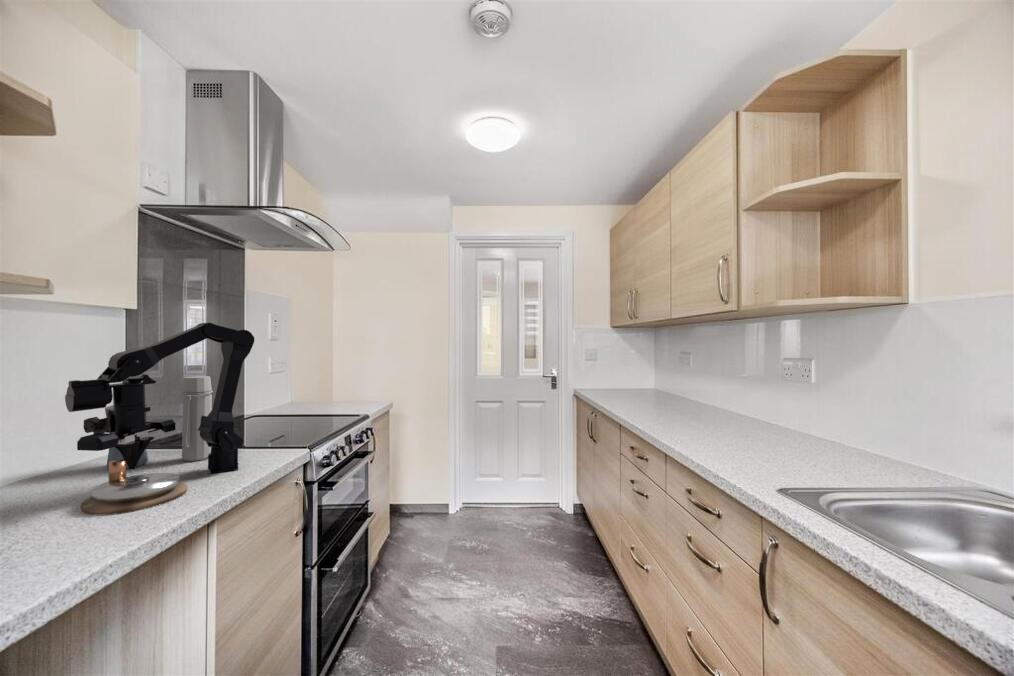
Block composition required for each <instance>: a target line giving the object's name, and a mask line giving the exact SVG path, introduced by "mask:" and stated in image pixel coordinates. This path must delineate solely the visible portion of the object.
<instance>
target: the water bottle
mask: <svg viewBox="0 0 1014 676" xmlns="http://www.w3.org/2000/svg"><path fill="white" fill-rule="evenodd" d="M211 381H212V380H211V376H208V375H207V376H206V375H205V376H204V375H201V376H200V375H199V376H198V375H197V376H183V381H182V388H181V393H180V396H181V397H182V417H181V418H182V419H181V420H182V424H181V425H182V427H181V429H182V430H181V431H182V432H181V433H182V434H181V436H182V437H181V439H182V442H181V448H182V449H181V460H183V461H185V462H190V461H192V462H200V461H204V460H206V459H207V460H208V455H209V453H211V448H212V447H208V445H207V442H206V441H204V440H203V439H202V438H201V437H200V431H198V428H199V427H200V424H201V417H202V416H208V415H209V413H210V412H211V411H212V408H213V403H212V401H213V396H212V393H213V392H214V391H213V389H212V382H211ZM199 460H200V461H199Z"/></svg>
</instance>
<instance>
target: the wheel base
mask: <svg viewBox="0 0 1014 676" xmlns="http://www.w3.org/2000/svg"><path fill="white" fill-rule="evenodd" d="M187 490H188V484H187V483H185V482H183V481H182V482H181V481H179V484H178V486H176V487H175V488H173V489H171V490H168V491H166V492H163V493H160V494H157V495H153V496H149V497H144V498H140V499H134V500H128V501H119V502H97V501H93V500H92V499H91V496H89V497H87V498H86V499H84V500H83V501H82V502H80V511H81V513H83V514H86V515H87V514H88V515H94V514H106V515H115V514H114V513H117V514H123V513H122V512H125V513H130V512H129V511H131V512H135V510H137V511H139V510H140V509H142V510H145V509H144V508H146V509H149V508H148V507H150V508H154V507H157V506H156V505H158V506H160V505H159V504H161V505H164V504H167V503H169V501H170V502H172V501H174V499H175V500H176V498H177V499H178V497H179V498H181V497H183V496H184V495H185V494H186V493H187ZM183 494H184V495H183ZM180 496H181V497H180ZM171 500H172V501H171ZM166 502H167V503H166ZM163 503H164V504H163ZM153 506H154V507H153Z"/></svg>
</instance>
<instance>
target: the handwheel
mask: <svg viewBox="0 0 1014 676" xmlns="http://www.w3.org/2000/svg"><path fill="white" fill-rule="evenodd" d="M126 464H127V460H126V459H119V460H113V461H110V462H109V469H108V481H107V482H103V483H101V484H98V485H96V486H94V487H92V489H91V491H90V497H91V499H92V500H93V501H97V502H119V501H128V500H134V499H140V498H144V497H149V496H153V495H157V494H160V493H163V492H166V491H168V490H171V489H173V488H175V487H176V486H178V484H179V482H180V475H179V474H177V473H173V472H153V473H151V472H150V473H143V474H137V475H132V476H127V469H126Z"/></svg>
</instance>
